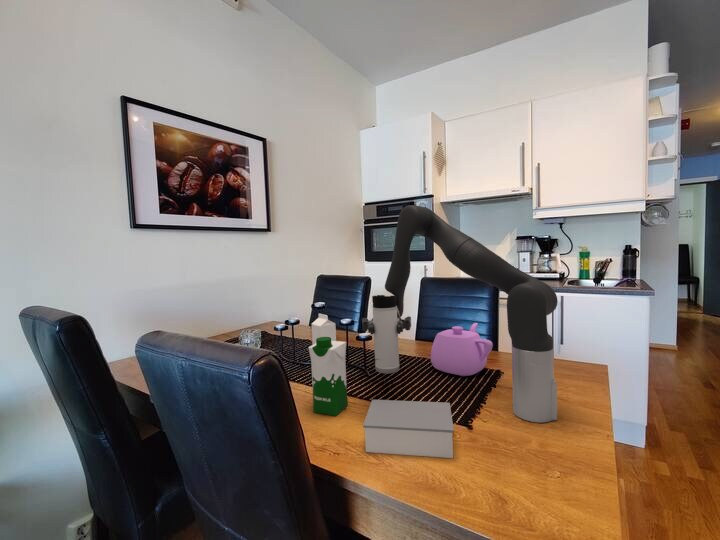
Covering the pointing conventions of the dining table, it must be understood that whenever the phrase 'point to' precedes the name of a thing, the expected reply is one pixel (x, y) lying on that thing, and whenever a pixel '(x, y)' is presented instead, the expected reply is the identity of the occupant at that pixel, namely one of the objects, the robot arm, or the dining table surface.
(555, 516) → the dining table surface
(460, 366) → the teapot
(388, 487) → the dining table surface
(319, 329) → the milk
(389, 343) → the travel mug
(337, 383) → the milk carton
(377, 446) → the box with lid
